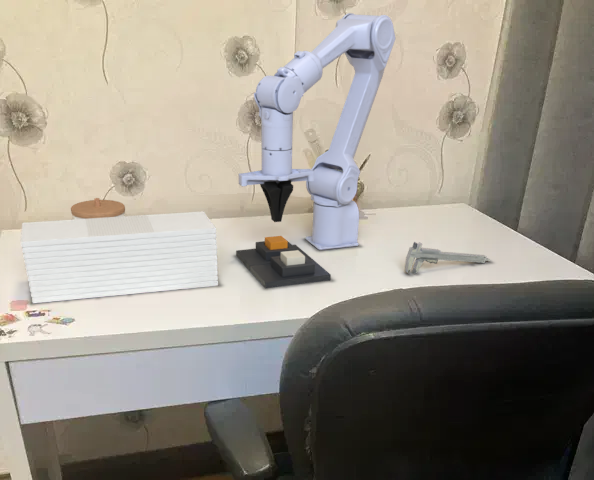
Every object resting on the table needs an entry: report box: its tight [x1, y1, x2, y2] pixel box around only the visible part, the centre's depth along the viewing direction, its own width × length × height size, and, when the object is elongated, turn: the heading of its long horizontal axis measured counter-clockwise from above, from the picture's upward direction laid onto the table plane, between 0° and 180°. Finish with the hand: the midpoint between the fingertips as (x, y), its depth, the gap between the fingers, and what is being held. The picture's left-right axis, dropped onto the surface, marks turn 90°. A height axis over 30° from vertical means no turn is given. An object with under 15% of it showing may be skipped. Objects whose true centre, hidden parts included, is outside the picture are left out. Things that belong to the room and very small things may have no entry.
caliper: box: [404, 241, 491, 275], centre depth 130 cm, size 20×1×6 cm, turn 116°
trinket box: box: [70, 197, 126, 220], centre depth 137 cm, size 11×11×9 cm
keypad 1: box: [235, 240, 313, 272], centre depth 132 cm, size 13×9×3 cm
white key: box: [281, 250, 305, 266], centre depth 124 cm, size 4×4×2 cm
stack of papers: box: [20, 210, 219, 304], centre depth 118 cm, size 32×11×11 cm, turn 108°
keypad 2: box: [249, 256, 332, 289], centre depth 125 cm, size 13×9×3 cm
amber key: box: [264, 235, 289, 250], centre depth 132 cm, size 4×4×2 cm
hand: (276, 220), depth 129 cm, fingers closed
